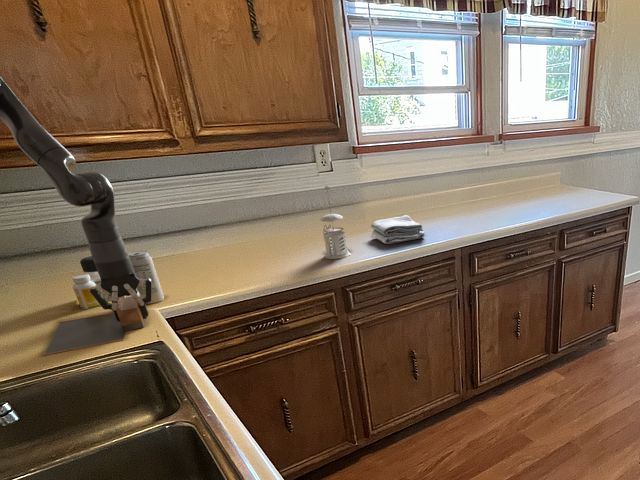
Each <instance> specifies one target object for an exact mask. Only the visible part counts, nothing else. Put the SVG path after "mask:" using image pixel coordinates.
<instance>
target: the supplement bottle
mask: <svg viewBox="0 0 640 480" xmlns="http://www.w3.org/2000/svg"><path fill="white" fill-rule="evenodd" d="M71 278H72V281H73V283H74V284H73V285H72V289H73V292H74V294H75V297H76V299H77V301H78V304H79V307H80V308H81V309H83V310H88V309H89V310H90V309H93V308H94V309H95V308H98V307H101V305H100V304H99V303H98V301H97V300H96V299H95V298H94V296H93V295H92V294H91V293H90V289H91V287H96V284H95V283H94V282H93V281H90V276H89V274H84V273H81V274H76V275H74V276H72V277H71Z"/></svg>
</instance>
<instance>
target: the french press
mask: <svg viewBox="0 0 640 480" xmlns="http://www.w3.org/2000/svg"><path fill="white" fill-rule="evenodd" d="M324 190H325V191H326V192H327V193H329V190H331V188H330V186H328V185H326V186H324ZM327 199H328V205H329V206H331V204H330V195H329V194H327ZM329 211H330V213H327V214H325V215H323V216H321V218H320V221H321V222H325V223H330V222H331V223H332V226H331V224H328V227H327V226H326V225H323V231H322V235H323V240H324V246H325V252H326V253H325V255H323V257H324V258H325V259H331V260H337V259H344V258H347V257H350V256H351V253H350V251H348V246H347V239H346V232H345V231H344V228H343V227H342V226H334V222H338V221H341V220H344V219H343V218H344V216H342V215H340V214H338V213H333V212H332V208H331V207H329ZM349 255H350V256H349Z"/></svg>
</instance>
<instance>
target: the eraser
mask: <svg viewBox="0 0 640 480" xmlns="http://www.w3.org/2000/svg"><path fill="white" fill-rule="evenodd" d="M117 314H118V317H119V319H120V322H121V325H122V327H123V330H124V331H125V332H128V331H132V330H137V329H143V328H145V321H146V319H143V316H142V313H141V310H140V308H139V304H138V303H137V301H136V300H135V299H134V298H133V297H132V296H131V295H130V296H125V298H119V300H118V307H117Z"/></svg>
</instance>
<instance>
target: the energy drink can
mask: <svg viewBox="0 0 640 480" xmlns="http://www.w3.org/2000/svg"><path fill="white" fill-rule="evenodd" d="M128 255H129V257H130V260H131V263H132V266H133V269H134V272H135V274H136V275H137V276H138V277H139V279H147V278H150V279H151V302H148V303H146V305H151V304H152V305H153V304H157V303H160V302H162V301H164V299H165V296H164V292H163V289H162V286H161V284H160V280H159V277H158V274H157V271H156V268H155V265H154V261H153V257H152V256H151V255H150V254H149V253H148V251H147V250H137V251H136V250H135V251H131V252H128ZM136 290H137V291H138V292H139V294H140V295H141V297H142V298H144V297H146V287H143V286H142V284H141V283H139V284H138V287H137V289H136Z"/></svg>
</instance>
